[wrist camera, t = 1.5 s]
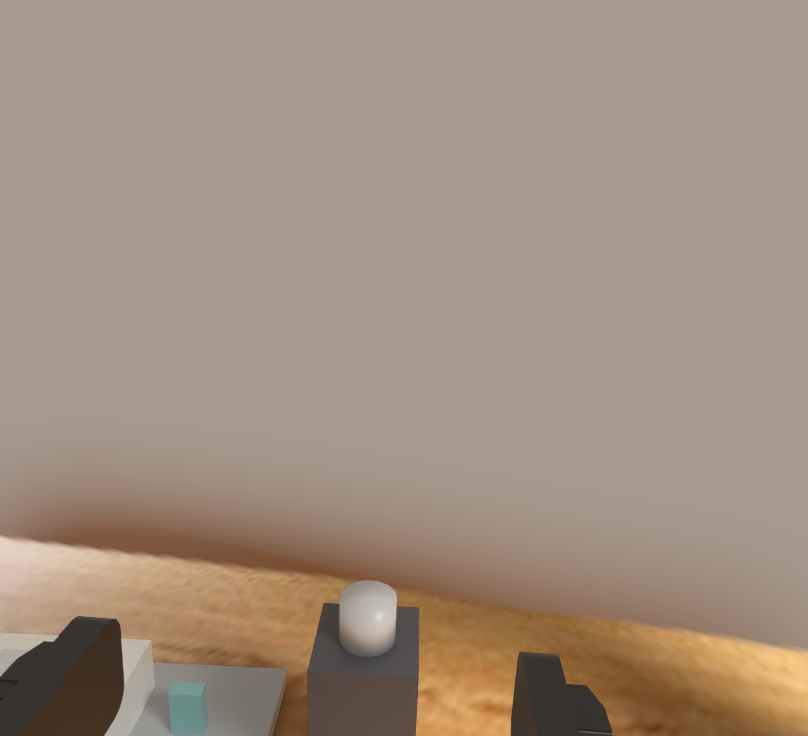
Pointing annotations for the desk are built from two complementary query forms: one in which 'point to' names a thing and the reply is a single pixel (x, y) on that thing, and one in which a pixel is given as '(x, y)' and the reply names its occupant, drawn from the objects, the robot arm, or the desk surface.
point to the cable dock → (180, 693)
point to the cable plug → (364, 665)
